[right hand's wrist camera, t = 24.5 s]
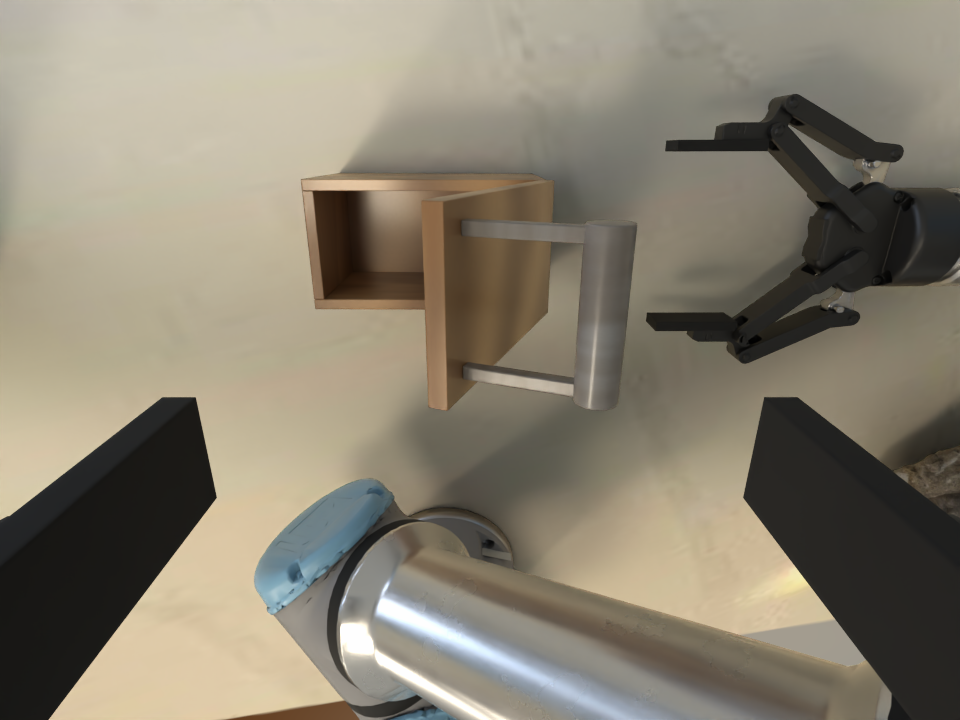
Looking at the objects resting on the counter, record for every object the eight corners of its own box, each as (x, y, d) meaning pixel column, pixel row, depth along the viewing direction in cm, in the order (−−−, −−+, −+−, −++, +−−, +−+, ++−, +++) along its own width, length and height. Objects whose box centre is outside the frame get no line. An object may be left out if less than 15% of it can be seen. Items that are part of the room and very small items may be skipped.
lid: (427, 407, 25) (609, 441, 22) (420, 199, 22) (632, 207, 19) (534, 311, 40) (650, 323, 38) (540, 179, 37) (667, 182, 34)
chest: (347, 278, 51) (315, 309, 41) (338, 173, 47) (300, 179, 37) (528, 278, 51) (540, 309, 41) (532, 173, 47) (546, 179, 37)
